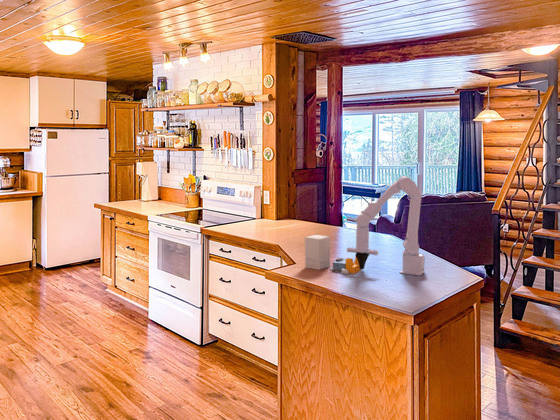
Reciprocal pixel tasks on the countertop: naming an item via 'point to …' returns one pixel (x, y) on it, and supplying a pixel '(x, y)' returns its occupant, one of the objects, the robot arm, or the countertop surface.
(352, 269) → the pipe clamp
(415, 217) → the robot arm
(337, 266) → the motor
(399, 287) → the countertop surface
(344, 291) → the countertop surface
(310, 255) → the supplement box
